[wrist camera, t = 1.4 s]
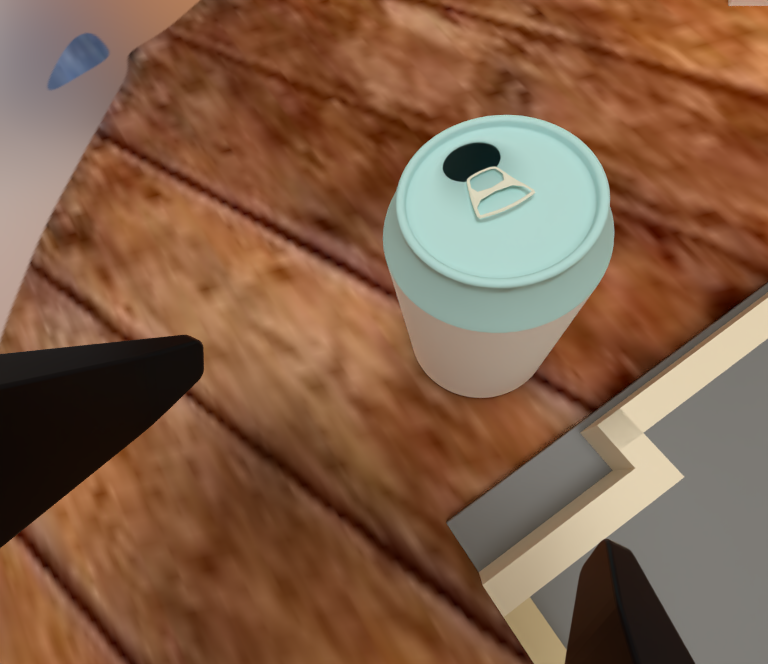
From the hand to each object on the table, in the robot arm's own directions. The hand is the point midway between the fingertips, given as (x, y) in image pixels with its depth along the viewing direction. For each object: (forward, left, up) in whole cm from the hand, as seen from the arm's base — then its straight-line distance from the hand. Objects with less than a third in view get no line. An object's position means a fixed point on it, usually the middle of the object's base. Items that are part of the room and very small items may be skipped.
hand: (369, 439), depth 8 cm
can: (+6, -5, -13) cm, 15 cm away
